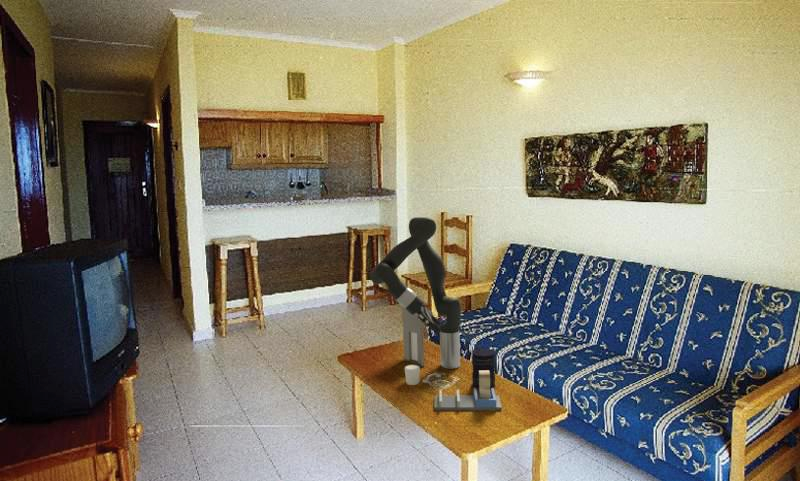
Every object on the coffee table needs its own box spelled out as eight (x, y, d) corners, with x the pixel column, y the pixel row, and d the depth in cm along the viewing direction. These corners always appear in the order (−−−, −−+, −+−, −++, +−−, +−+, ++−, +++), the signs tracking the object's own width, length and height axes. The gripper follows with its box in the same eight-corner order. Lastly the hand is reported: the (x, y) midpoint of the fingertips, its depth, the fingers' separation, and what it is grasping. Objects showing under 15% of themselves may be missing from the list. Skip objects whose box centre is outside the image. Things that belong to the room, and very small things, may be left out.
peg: (479, 399, 214) (478, 370, 212) (489, 399, 213) (489, 370, 212) (480, 403, 210) (479, 374, 208) (490, 403, 210) (489, 374, 208)
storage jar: (500, 386, 229) (499, 345, 226) (481, 391, 224) (481, 350, 222) (485, 378, 237) (484, 339, 235) (467, 383, 233) (466, 343, 230)
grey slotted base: (434, 398, 219) (434, 388, 218) (498, 398, 217) (498, 388, 216) (434, 410, 208) (434, 400, 208) (501, 410, 206) (501, 399, 205)
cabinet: (424, 366, 254) (422, 309, 251) (404, 367, 255) (402, 310, 251) (422, 351, 275) (421, 298, 271) (404, 352, 275) (402, 299, 272)
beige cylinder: (422, 380, 238) (421, 365, 237) (417, 386, 232) (417, 370, 231) (407, 378, 240) (407, 363, 240) (402, 384, 234) (402, 369, 233)
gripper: (415, 298, 211) (445, 326, 212) (417, 290, 225) (444, 316, 226) (402, 311, 212) (432, 339, 213) (405, 302, 226) (432, 328, 227)
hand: (438, 327), depth 219 cm, fingers open, 8 cm apart
